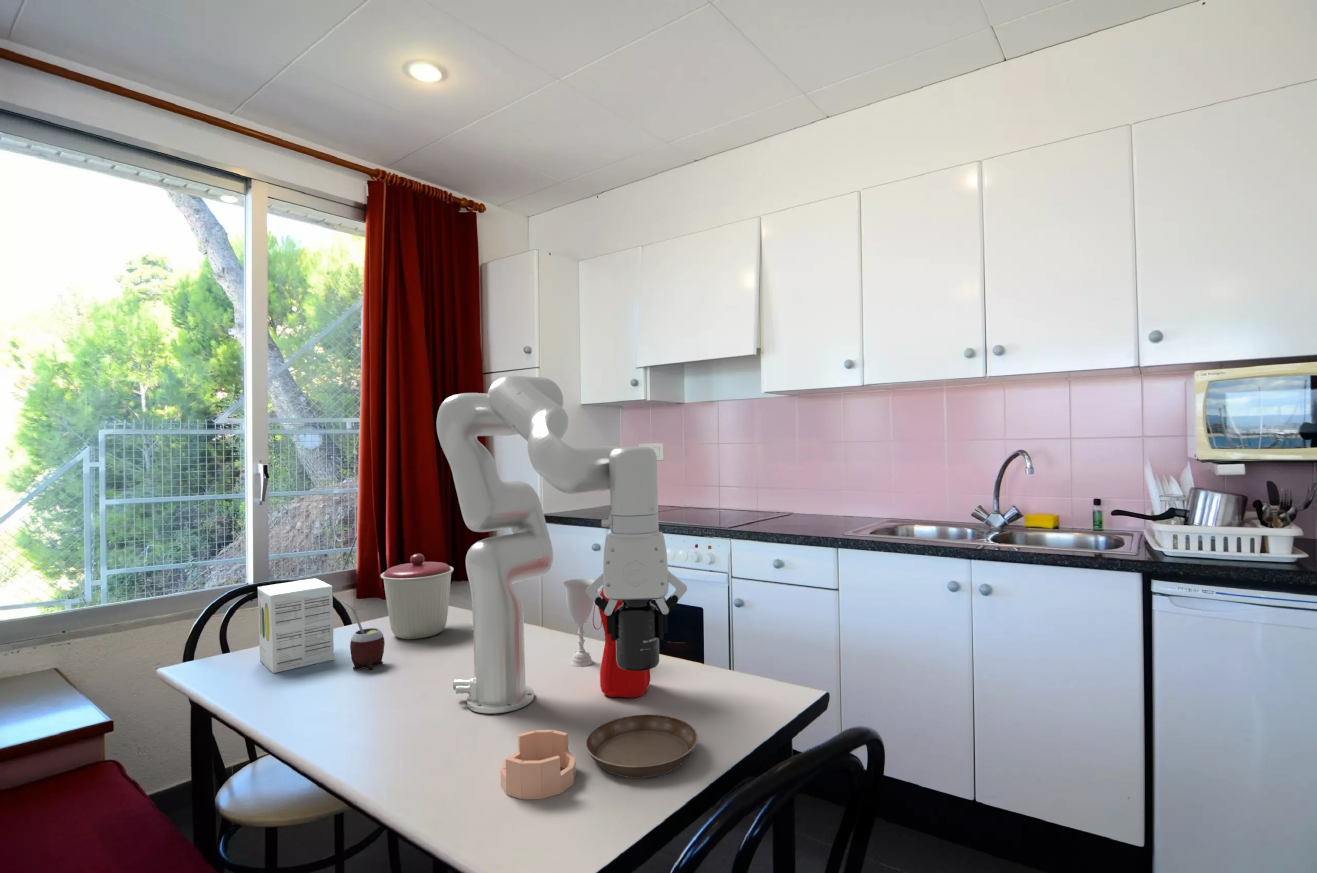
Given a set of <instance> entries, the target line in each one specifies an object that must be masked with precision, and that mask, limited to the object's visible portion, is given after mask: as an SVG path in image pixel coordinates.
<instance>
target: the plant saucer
mask: <svg viewBox="0 0 1317 873" xmlns="http://www.w3.org/2000/svg"><path fill="white" fill-rule="evenodd" d="M698 741H699V735H698V732H697V731H696V729H695V728H694V727H693V726H692V725H691V724H689V723H688V722H686V721H685V720H682V719H680V718H676V717H673V716H669V715H660V714H647V713H646V714H633V715H628V716H622V717H618V718H614V719H611V720H608V721H606V722H604V723H602V724H600V725H599V726H597V727H595V728H594V729H593V730H592V731H590V733H588V735H587V737H586V739H585V742H584V744H585V748H586V751H587V753H588V754H589V756H590V757H591V759H593V761H594V762H595V763H596V764H597V765H598V766H600V768H601V769H603V770H605V771H606V772H608V773H610V774H613V775H615V776H619V777H625V778H634V779H635V778H636V779H637V778H638V779H639V778H640V779H641V778H651V777H656V776H660V775H665V774H668V773H669V772H672V771H674V770H676V769H677V768H678V767H680V766H681V765H683V764H684V763H685V762H686V761H687V759H688V758H689V757H690V756H691V754H692V753H693V751H694V750H695V748H696V745H697V743H698Z"/></svg>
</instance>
